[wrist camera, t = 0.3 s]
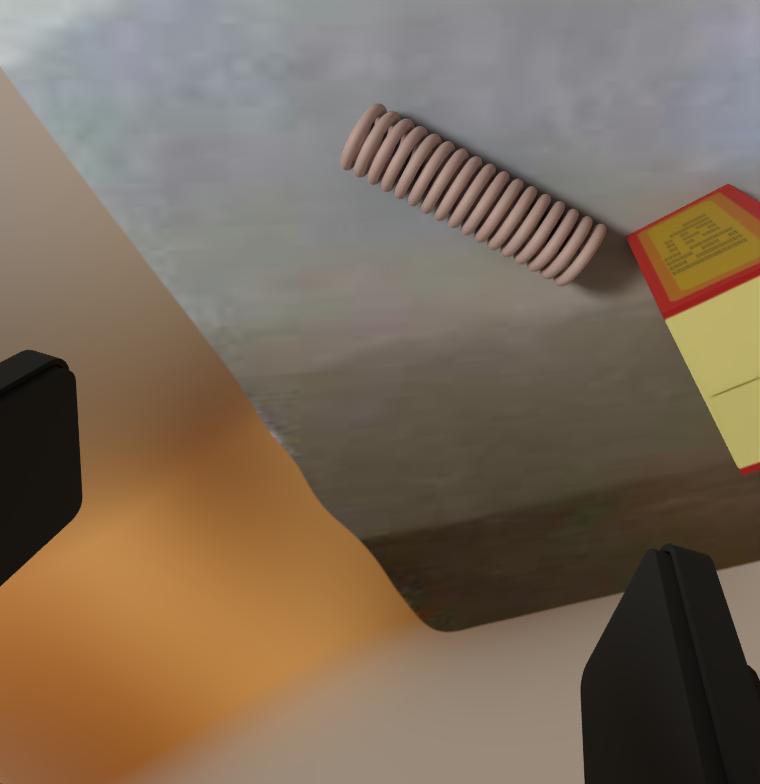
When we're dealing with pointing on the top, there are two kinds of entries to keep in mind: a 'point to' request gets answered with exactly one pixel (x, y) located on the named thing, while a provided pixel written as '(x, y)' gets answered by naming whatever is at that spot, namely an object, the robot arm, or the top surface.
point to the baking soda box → (713, 305)
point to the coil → (471, 195)
